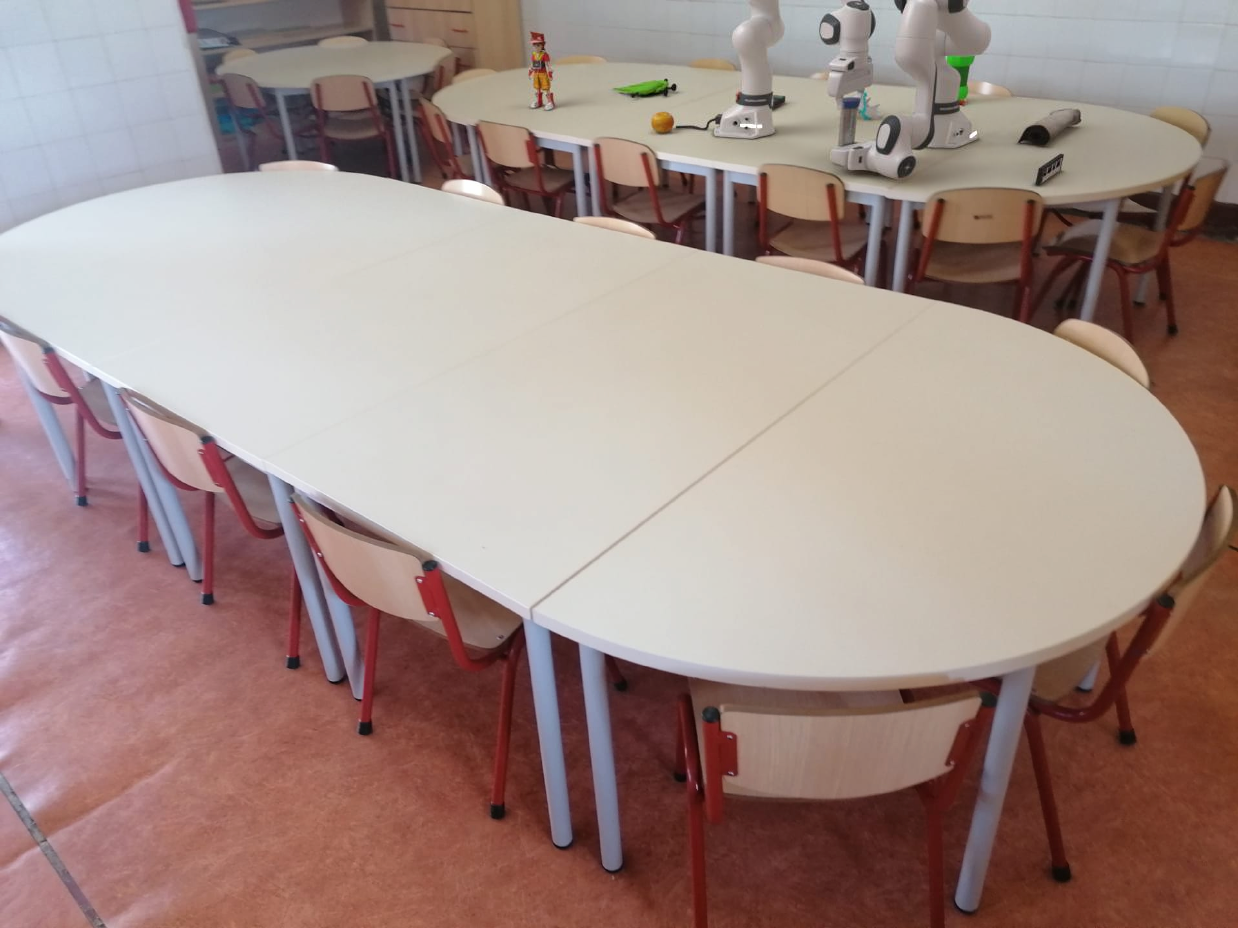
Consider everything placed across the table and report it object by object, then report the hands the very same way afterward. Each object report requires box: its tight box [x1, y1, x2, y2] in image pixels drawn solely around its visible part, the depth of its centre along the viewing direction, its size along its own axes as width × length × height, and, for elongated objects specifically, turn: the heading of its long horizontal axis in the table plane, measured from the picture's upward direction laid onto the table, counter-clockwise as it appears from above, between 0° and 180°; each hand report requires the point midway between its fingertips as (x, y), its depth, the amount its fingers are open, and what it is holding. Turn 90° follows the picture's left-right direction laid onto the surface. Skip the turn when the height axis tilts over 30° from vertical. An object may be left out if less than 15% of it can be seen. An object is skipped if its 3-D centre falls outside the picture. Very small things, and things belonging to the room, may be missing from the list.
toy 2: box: [612, 78, 677, 99], centre depth 396 cm, size 28×5×30 cm
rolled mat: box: [1017, 107, 1082, 147], centre depth 310 cm, size 30×9×10 cm
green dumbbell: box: [946, 55, 976, 100], centre depth 348 cm, size 10×10×25 cm
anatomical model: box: [850, 91, 885, 120], centre depth 343 cm, size 15×10×10 cm
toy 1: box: [527, 31, 556, 111], centre depth 374 cm, size 12×9×30 cm
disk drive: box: [772, 94, 786, 110], centre depth 364 cm, size 10×3×15 cm
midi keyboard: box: [1035, 153, 1065, 186], centre depth 273 cm, size 18×1×5 cm, turn 138°
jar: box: [837, 107, 859, 166], centre depth 292 cm, size 5×5×20 cm
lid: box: [842, 96, 860, 108], centre depth 287 cm, size 6×6×2 cm
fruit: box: [650, 111, 675, 133], centre depth 339 cm, size 8×8×8 cm
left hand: (848, 106), depth 287 cm, fingers open, 8 cm apart
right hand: (844, 146), depth 295 cm, fingers closed on jar, 5 cm apart
